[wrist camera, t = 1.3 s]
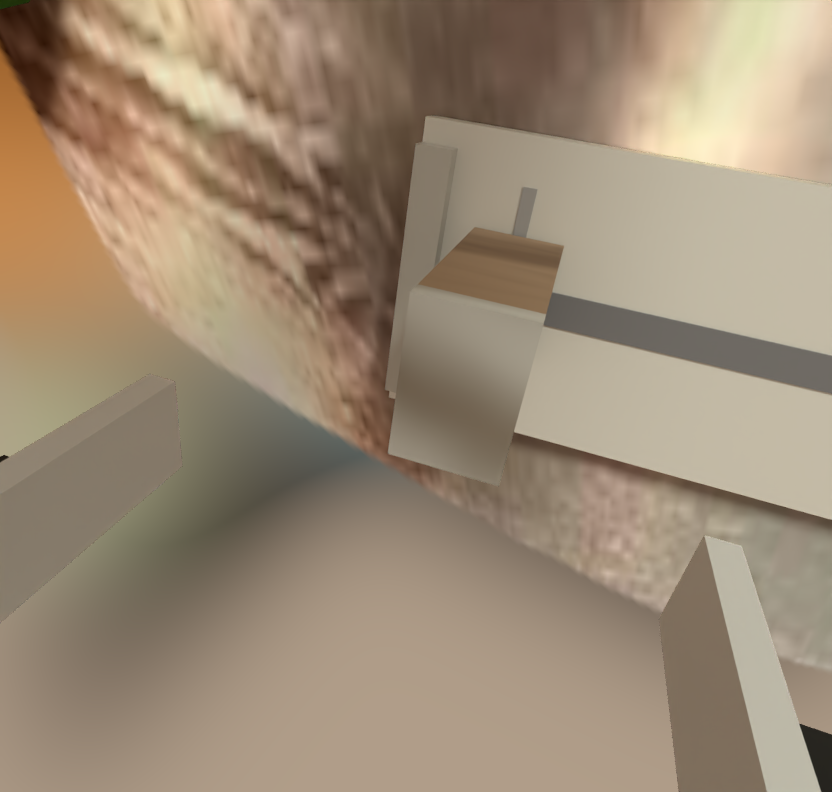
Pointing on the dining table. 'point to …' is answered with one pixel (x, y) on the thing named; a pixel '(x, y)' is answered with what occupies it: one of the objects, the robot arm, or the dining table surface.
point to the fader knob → (471, 352)
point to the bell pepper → (11, 3)
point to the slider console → (652, 302)
